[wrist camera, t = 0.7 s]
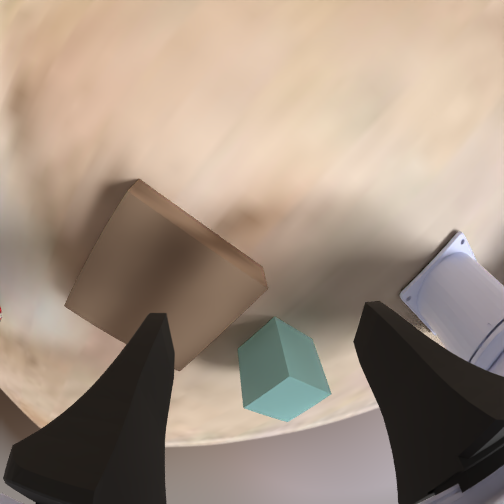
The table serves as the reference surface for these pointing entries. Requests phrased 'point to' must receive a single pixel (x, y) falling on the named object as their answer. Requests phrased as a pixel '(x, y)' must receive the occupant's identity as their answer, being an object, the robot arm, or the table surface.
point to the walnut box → (164, 275)
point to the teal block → (281, 372)
